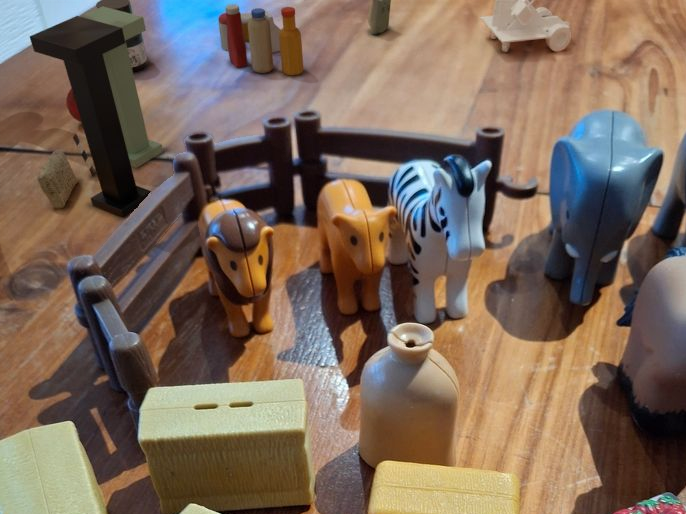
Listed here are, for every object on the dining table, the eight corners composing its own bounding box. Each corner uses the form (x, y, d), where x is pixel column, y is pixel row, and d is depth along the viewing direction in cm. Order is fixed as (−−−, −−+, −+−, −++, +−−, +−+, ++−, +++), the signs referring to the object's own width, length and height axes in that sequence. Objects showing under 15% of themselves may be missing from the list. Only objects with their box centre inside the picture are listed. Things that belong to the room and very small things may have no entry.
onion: (88, 134, 137) (75, 90, 130) (66, 126, 139) (53, 83, 132) (110, 122, 140) (98, 78, 134) (89, 114, 142) (76, 71, 136)
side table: (171, 151, 132) (143, 16, 115) (136, 172, 127) (102, 35, 110) (134, 138, 135) (102, 6, 118) (99, 159, 131) (61, 24, 114)
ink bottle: (107, 77, 153) (90, 13, 143) (102, 61, 158) (86, -1, 149) (153, 70, 155) (140, 7, 145) (146, 55, 160) (133, -7, 151)
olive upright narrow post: (390, 37, 165) (392, -3, 159) (367, 37, 165) (368, -3, 159) (390, 27, 169) (391, -12, 162) (367, 27, 169) (368, -12, 162)
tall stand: (161, 198, 122) (122, 27, 102) (123, 223, 117) (75, 49, 97) (122, 183, 125) (77, 15, 105) (84, 207, 120) (29, 36, 100)
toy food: (308, 74, 153) (305, 10, 143) (252, 86, 149) (245, 21, 140) (261, 30, 168) (256, -30, 159) (209, 41, 165) (200, -20, 155)
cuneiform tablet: (95, 172, 127) (78, 209, 120) (72, 177, 128) (53, 213, 120) (75, 133, 122) (56, 168, 114) (51, 138, 123) (30, 173, 115)
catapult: (499, 60, 156) (511, -26, 144) (477, 35, 165) (487, -48, 153) (577, 51, 159) (595, -34, 146) (551, 27, 168) (566, -55, 155)
